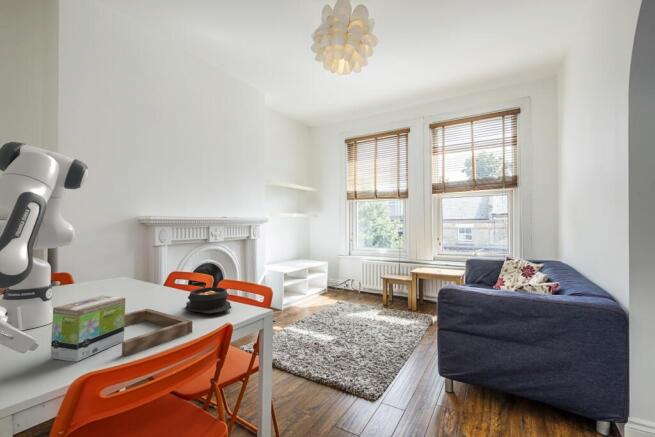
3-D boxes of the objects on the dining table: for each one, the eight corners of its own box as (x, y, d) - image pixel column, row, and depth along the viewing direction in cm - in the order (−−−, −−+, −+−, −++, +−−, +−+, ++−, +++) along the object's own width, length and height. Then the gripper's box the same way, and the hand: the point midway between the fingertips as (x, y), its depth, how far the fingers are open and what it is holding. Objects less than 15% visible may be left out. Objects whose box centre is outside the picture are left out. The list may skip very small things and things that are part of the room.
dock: (125, 356, 86) (125, 342, 86) (80, 336, 100) (81, 324, 100) (192, 332, 105) (192, 320, 105) (147, 318, 119) (147, 308, 119)
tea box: (78, 363, 82) (79, 309, 82) (49, 359, 84) (50, 307, 84) (125, 341, 96) (126, 296, 97) (100, 338, 99) (101, 294, 99)
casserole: (241, 311, 130) (242, 292, 130) (199, 321, 117) (200, 300, 117) (215, 300, 147) (215, 283, 147) (175, 307, 134) (176, 289, 134)
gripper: (8, 317, 68) (61, 344, 76) (-19, 303, 77) (31, 328, 86) (-22, 343, 64) (38, 369, 72) (-46, 325, 74) (9, 350, 82)
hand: (34, 347), depth 79 cm, fingers closed
